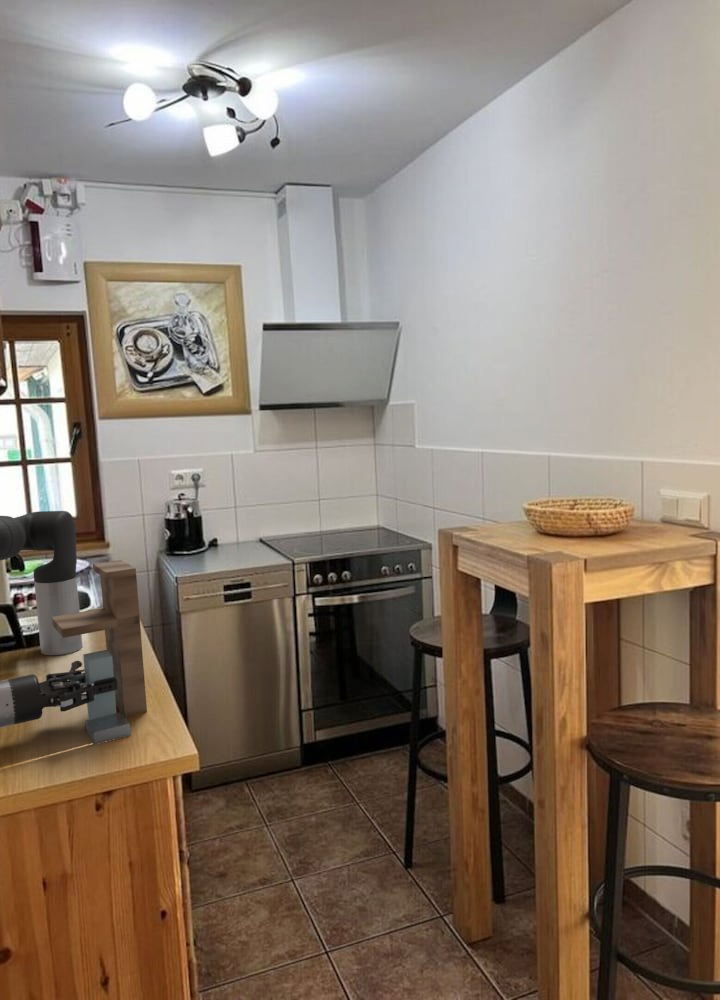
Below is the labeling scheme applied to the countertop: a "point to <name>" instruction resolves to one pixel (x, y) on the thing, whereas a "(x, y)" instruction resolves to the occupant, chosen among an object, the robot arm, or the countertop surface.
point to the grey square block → (108, 728)
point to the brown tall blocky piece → (115, 632)
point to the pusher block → (97, 669)
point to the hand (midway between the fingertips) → (112, 679)
